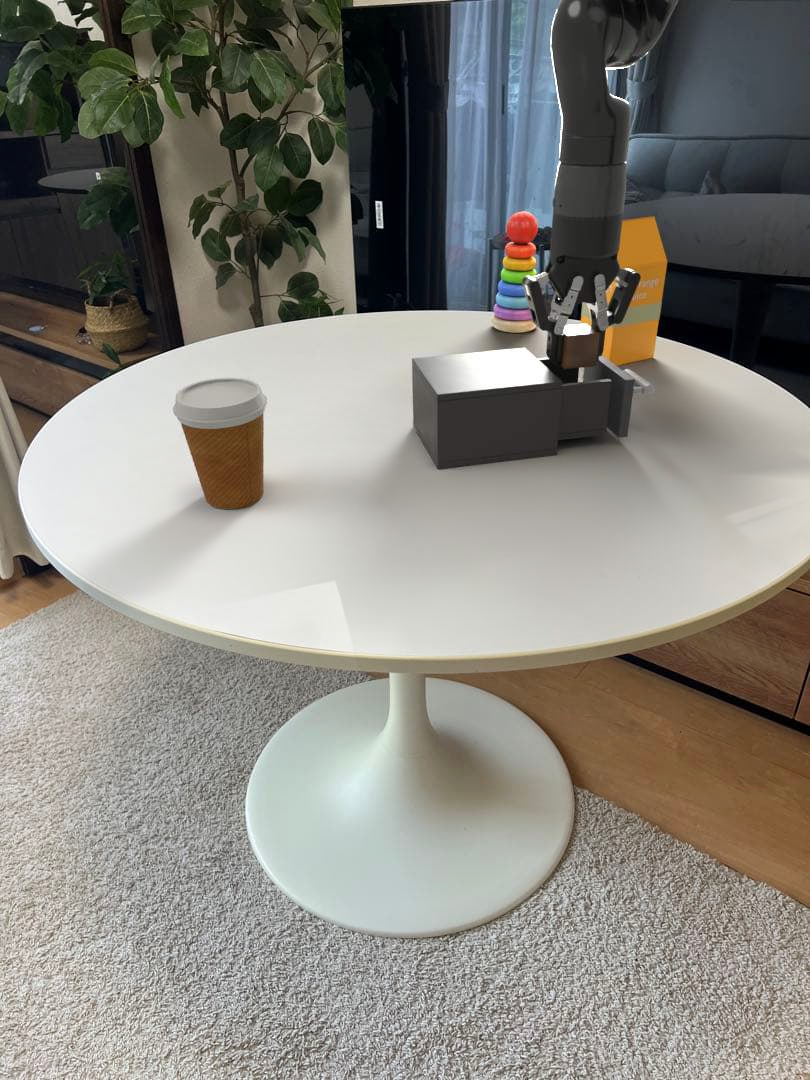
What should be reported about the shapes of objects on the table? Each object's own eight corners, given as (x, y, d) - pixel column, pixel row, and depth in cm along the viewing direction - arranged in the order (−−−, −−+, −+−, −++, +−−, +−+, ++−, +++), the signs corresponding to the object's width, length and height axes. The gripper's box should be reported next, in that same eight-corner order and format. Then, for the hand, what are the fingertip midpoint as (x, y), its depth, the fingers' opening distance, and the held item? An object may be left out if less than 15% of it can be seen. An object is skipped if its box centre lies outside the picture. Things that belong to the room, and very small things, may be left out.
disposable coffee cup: (186, 484, 89) (166, 383, 83) (269, 470, 92) (256, 371, 85) (195, 524, 81) (175, 416, 75) (286, 507, 84) (273, 401, 78)
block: (582, 355, 97) (585, 323, 94) (596, 366, 93) (599, 333, 91) (551, 358, 96) (554, 326, 94) (564, 369, 93) (567, 336, 90)
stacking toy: (498, 335, 133) (502, 217, 123) (486, 322, 139) (490, 209, 130) (543, 332, 134) (551, 214, 124) (529, 319, 140) (536, 206, 131)
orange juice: (654, 357, 121) (674, 219, 111) (608, 367, 118) (625, 226, 108) (620, 343, 127) (637, 211, 117) (576, 353, 124) (589, 218, 114)
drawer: (618, 399, 105) (624, 345, 101) (659, 433, 96) (668, 375, 92) (491, 413, 102) (493, 358, 98) (520, 449, 93) (524, 391, 89)
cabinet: (521, 414, 104) (524, 347, 99) (556, 454, 93) (562, 381, 88) (413, 426, 101) (411, 358, 97) (437, 469, 91) (437, 394, 86)
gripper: (538, 218, 81) (528, 377, 90) (665, 209, 83) (643, 365, 93) (514, 206, 87) (507, 356, 96) (633, 199, 90) (615, 346, 99)
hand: (574, 360), depth 94 cm, fingers closed on block, 4 cm apart
